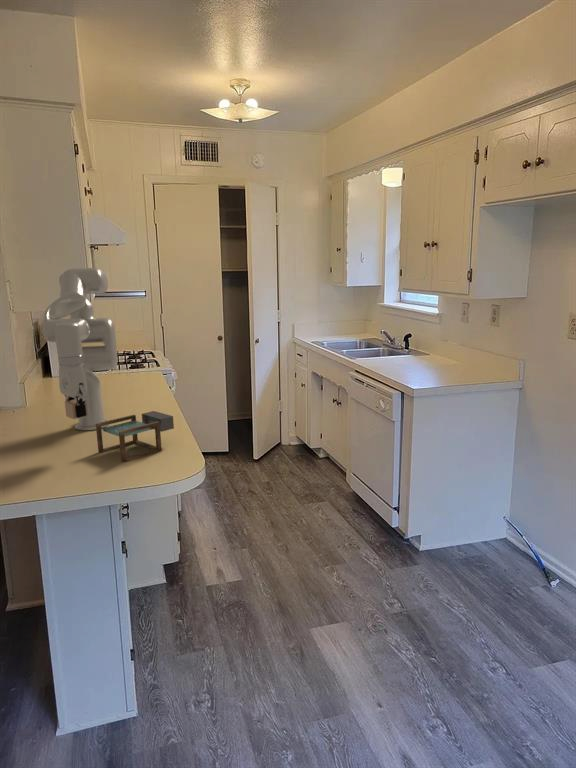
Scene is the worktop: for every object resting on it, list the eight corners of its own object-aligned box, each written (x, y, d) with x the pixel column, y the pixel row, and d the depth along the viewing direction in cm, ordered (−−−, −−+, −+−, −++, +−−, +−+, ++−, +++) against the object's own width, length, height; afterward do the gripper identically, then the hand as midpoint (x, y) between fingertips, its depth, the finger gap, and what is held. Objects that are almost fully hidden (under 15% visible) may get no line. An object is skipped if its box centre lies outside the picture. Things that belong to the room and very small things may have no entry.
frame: (98, 452, 186) (95, 423, 184) (136, 441, 197) (133, 414, 195) (123, 462, 176) (120, 432, 174) (161, 450, 186) (159, 422, 184)
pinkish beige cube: (66, 416, 182) (64, 401, 181) (80, 412, 186) (79, 398, 185) (73, 419, 179) (71, 404, 178) (88, 415, 183) (86, 401, 181)
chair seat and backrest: (103, 435, 185) (102, 423, 184) (154, 422, 199) (153, 410, 198) (122, 442, 177) (121, 429, 176) (173, 428, 191) (173, 416, 191)
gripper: (47, 359, 181) (54, 412, 185) (72, 366, 170) (79, 422, 174) (69, 355, 186) (75, 407, 191) (95, 362, 175) (100, 417, 179)
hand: (77, 414), depth 182 cm, fingers closed on pinkish beige cube, 5 cm apart
